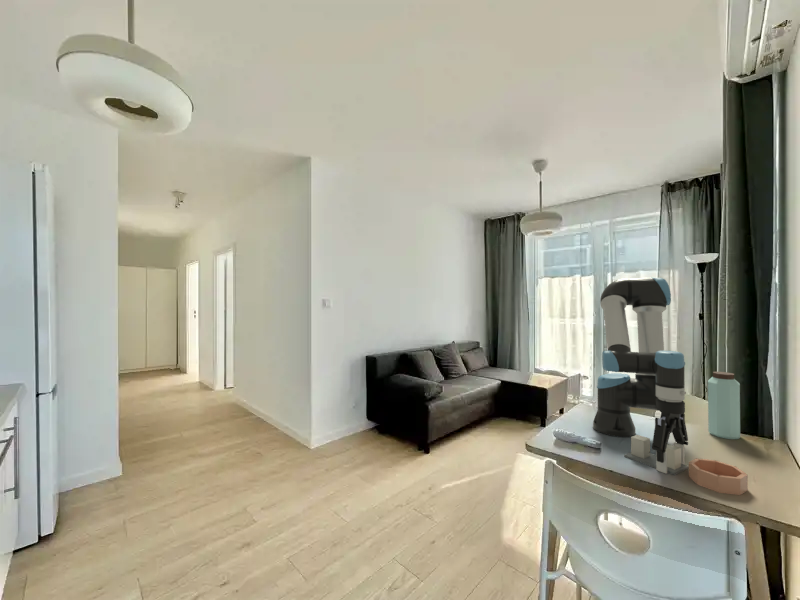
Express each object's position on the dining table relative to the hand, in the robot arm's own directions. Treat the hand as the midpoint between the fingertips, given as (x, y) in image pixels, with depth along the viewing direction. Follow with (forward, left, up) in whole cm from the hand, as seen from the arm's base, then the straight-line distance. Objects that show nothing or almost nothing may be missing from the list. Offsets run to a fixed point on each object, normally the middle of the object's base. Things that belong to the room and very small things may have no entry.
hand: (670, 467), depth 114 cm
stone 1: (-9, 0, +1) cm, 9 cm away
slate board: (-5, 0, 0) cm, 5 cm away
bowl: (+11, +1, 0) cm, 11 cm away
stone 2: (0, 0, +1) cm, 1 cm away
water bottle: (-3, +49, 0) cm, 49 cm away
